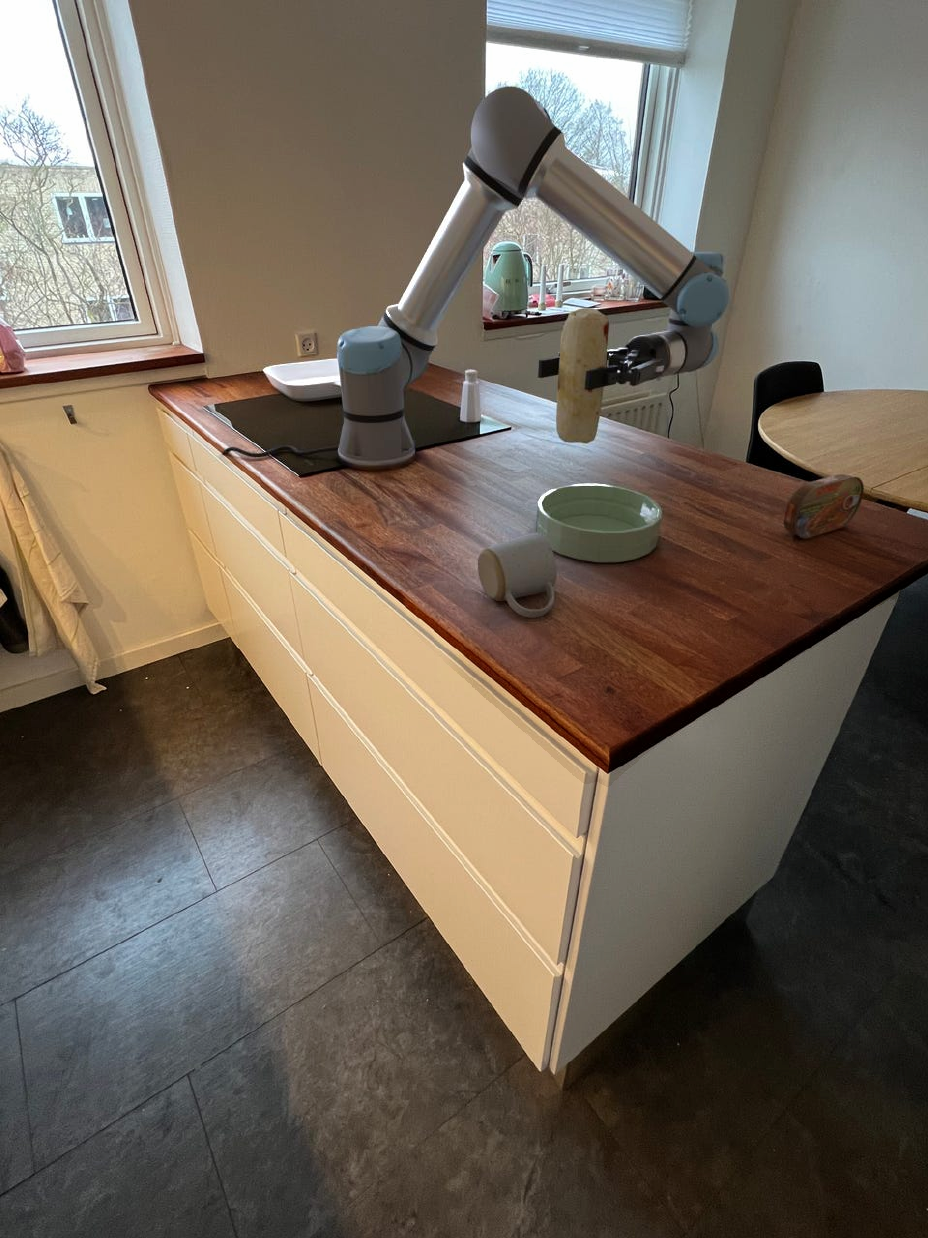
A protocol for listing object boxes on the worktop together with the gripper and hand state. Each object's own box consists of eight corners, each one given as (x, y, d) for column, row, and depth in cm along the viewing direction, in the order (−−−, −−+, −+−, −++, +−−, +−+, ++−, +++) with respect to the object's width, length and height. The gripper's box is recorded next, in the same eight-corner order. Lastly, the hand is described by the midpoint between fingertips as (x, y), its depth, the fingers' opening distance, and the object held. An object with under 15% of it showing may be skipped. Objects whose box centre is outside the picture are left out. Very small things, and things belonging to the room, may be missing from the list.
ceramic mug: (473, 586, 84) (474, 534, 80) (526, 573, 87) (529, 522, 83) (513, 628, 76) (516, 572, 72) (569, 611, 80) (576, 558, 75)
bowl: (569, 573, 88) (572, 540, 85) (517, 521, 102) (519, 491, 99) (680, 553, 93) (687, 522, 90) (616, 506, 107) (620, 478, 104)
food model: (607, 444, 105) (623, 312, 94) (572, 450, 103) (584, 314, 92) (577, 429, 113) (588, 304, 102) (544, 433, 110) (552, 306, 100)
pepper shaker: (455, 421, 149) (455, 371, 143) (464, 415, 153) (464, 367, 147) (477, 423, 147) (477, 374, 141) (485, 417, 152) (486, 369, 145)
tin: (790, 543, 95) (807, 490, 91) (773, 535, 98) (788, 483, 93) (855, 524, 101) (873, 474, 97) (837, 517, 104) (854, 467, 99)
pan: (349, 373, 191) (347, 356, 188) (415, 405, 161) (414, 386, 158) (260, 384, 179) (257, 366, 176) (313, 420, 149) (311, 400, 146)
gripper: (702, 391, 106) (614, 414, 94) (601, 368, 120) (514, 385, 109) (712, 343, 102) (621, 360, 90) (606, 325, 116) (516, 338, 104)
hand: (562, 374), depth 99 cm, fingers closed on food model, 9 cm apart
